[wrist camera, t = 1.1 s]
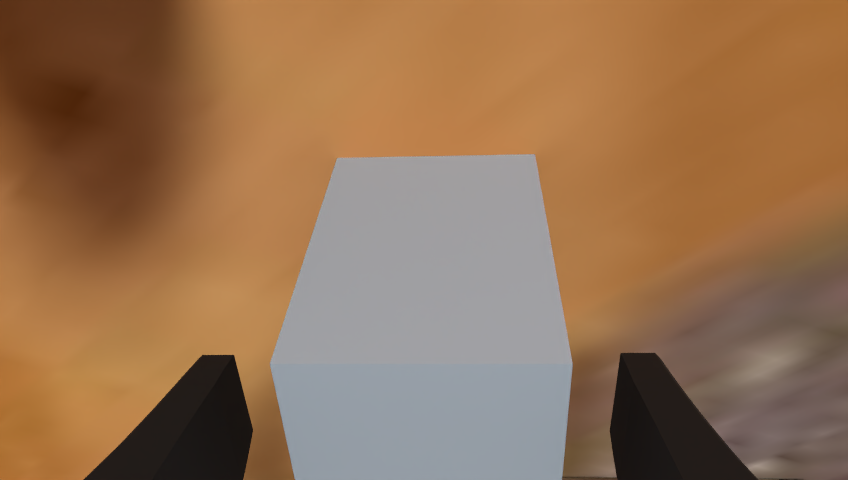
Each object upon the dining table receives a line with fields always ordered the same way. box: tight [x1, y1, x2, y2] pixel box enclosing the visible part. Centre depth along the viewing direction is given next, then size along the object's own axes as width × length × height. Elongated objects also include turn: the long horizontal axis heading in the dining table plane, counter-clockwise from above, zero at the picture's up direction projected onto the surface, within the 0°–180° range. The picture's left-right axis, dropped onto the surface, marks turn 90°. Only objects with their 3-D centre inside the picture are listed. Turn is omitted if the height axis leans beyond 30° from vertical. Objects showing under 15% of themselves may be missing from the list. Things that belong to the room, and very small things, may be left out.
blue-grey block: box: [270, 154, 573, 480], centre depth 15 cm, size 5×5×7 cm
